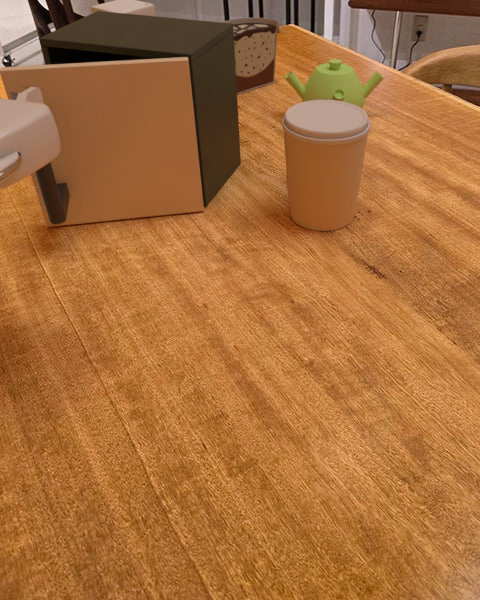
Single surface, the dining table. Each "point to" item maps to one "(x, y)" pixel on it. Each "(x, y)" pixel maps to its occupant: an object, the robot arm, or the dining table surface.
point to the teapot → (334, 84)
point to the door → (116, 139)
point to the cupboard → (169, 44)
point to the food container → (254, 52)
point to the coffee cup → (324, 161)
